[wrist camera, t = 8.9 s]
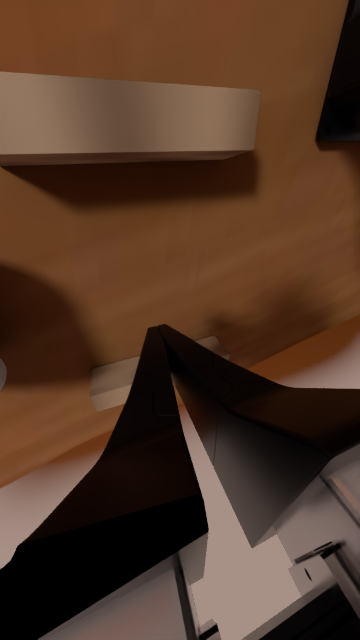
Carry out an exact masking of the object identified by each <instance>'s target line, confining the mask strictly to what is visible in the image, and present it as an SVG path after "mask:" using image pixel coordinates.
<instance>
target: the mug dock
mask: <svg viewBox="0 0 360 640" xmlns="http://www.w3.org/2000/svg"><path fill="white" fill-rule="evenodd" d="M260 93H261V90H252V89H238V88H224V87H210V86H196V85H181V84H167V83H153V82H139V81H125V80H110V79H96V78H82V77H68V76H54V75H39V74H25V73H11V72H0V166H23V165H57V164H90V163H124V162H158V161H192V160H224V159H227V158H230V157H233V156H236V155H240V154H243V153H246V152H249V151H252V150H254V144H255V135H256V127H257V118H258V110H259V101H260ZM195 342H197V343H199V344H201V345H202V346H204V347H206V348H207V349H209V350H211V351H213V352H214V353H215V354H218V355H220V356H221V357H223V358H225V359H227V360H229V357H230V354H229V353H228V352H227V351H226V349H225V348H224V347H223V346H222V344H221V343H220V342H219V341H218V339H217V338H216V337H215V336H211V337H207V338H203V339H200V340H196V341H195ZM139 358H140V356H137V357H133V358H130V359H126V360H122V361H118V362H115V363H111V364H107V365H104V366H100V367H96V368H93V369H92V370H91V385H90V399H91V401H92V402H93V404H94V406H95V408H96V410H97V412H99V411H102V410H105V409H108V408H111V407H114V406H118V405H121V404H124V403H125V402H126V400H127V398H128V395H129V392H130V389H131V386H132V382H133V379H134V376H135V372H136V369H137V365H138V362H139ZM172 382H173V380H172ZM173 386H174V387H176V386H175V384H174V382H173Z"/></svg>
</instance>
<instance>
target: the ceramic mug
mask: <svg viewBox="0 0 360 640" xmlns="http://www.w3.org/2000/svg"><path fill="white" fill-rule="evenodd" d="M6 374H7V370H6V366H5V364H4V362H3V361H2V360H1V358H0V391H1V389H2V388H3V386H4V383H5V380H6Z"/></svg>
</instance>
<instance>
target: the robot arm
mask: <svg viewBox="0 0 360 640" xmlns="http://www.w3.org/2000/svg"><path fill="white" fill-rule="evenodd" d="M325 130H326V133H325ZM317 140H318V141H319V142H360V0H349V4H348V8H347V12H346V16H345V20H344V24H343V28H342V32H341V36H340V41H339V45H338V49H337V53H336V57H335V61H334V65H333V69H332V73H331V77H330V81H329V85H328V89H327V93H326V97H325V101H324V106H323V110H322V114H321V118H320V122H319V126H318V130H317ZM172 380H173V382H174V384H175V386H176V388H177V390H178V392H179V395H180V397H181V399H182V401H183V403H184V405H185V407H186V409H187V412H188V414H189V416H190V418H191V420H192V422H193V424H194V426H195V429H196V431H197V433H198V435H199V437H200V439H201V441H202V443H203V446H204V448H205V450H206V452H207V454H208V456H209V458H210V461H211V463H212V465H213V466H214V469H215V471H216V473H217V475H218V478H219V480H220V482H221V484H222V486H223V488H224V490H225V493H226V495H227V497H228V499H229V501H230V503H231V505H232V508H233V510H234V512H235V514H236V516H237V518H238V520H239V522H240V525H241V526H242V529H243V530H244V533H245V535H246V537H247V539H248V541H249V544H250V545H251V547H252V548H254V547H255V546H257V545H259V544H260V543H262V542H264V541H266V540H267V539H269V538H270V537H272V536H274V535H276V534H277V535H278V537H279V539H280V541H281V543H282V545H283V547H284V549H285V551H286V553H287V555H288V557H289V558H290V560H291V562H292V564H293V566H292V567H290V568H289V571H290V574H291V576H292V578H293V580H294V582H295V584H296V586H297V588H298V590H299V592H300V594H301V596H302V597H301V598H299V599H298V600H296V601H295V602H294V603H292V604H291V605H289V606H288V607H287V608H285V609H284V610H282V611H281V612H280V613H278V614H277V615H275V616H274V617H273V618H271V619H270V620H268V621H267V622H266V623H264V624H263V625H261V626H260V627H259V628H257V629H256V630H254V631H253V632H252V633H250V634H249V635H247V636H246V637H244V638H243V639H242V640H360V389H329V388H327V389H326V388H293V387H287V386H283V385H280V384H278V383H275V382H273V381H271V380H268V379H266V378H264V377H262V376H260V375H258V374H255V373H253V372H251V371H249V370H247V369H244V368H242V367H240V366H238V365H236V364H234V363H232V362H230V361H229V360H227V359H225V358H223V357H221V356H220V355H218V354H215V353H214V352H213V351H211V350H209V349H207V348H206V347H204V346H202V345H201V344H199V343H197V342H195V341H194V340H192V339H190V338H189V337H187V336H185V335H183V334H182V333H180V332H178V331H177V330H175V329H173V328H171V327H170V326H168V325H166V324H162V325H158V326H157V327H156V326H154V327H150V328H148V330H147V333H146V337H145V340H144V344H143V347H142V351H141V355H140V358H139V362H138V365H137V369H136V372H135V376H134V379H133V382H132V386H131V389H130V392H129V395H128V398H127V400H126V402H125V405H124V407H123V410H122V412H121V414H120V416H119V419H118V421H117V423H116V425H115V428H114V430H113V432H112V435H111V437H110V439H109V441H108V443H107V446H106V448H105V450H104V452H103V453H102V455H101V457H100V458H99V460H98V461H97V463H96V464H95V465H94V466H93V468H92V469H91V470H90V471H89V472H88V473H87V474H86V475H85V476H84V478H83V479H82V480H81V481H80V482H79V483H78V484H77V485H76V486H75V488H74V489H73V490H72V491H71V492H70V493H69V494H68V495H67V496H66V497H65V498H64V499H63V501H62V502H61V503H60V504H59V505H58V506H57V507H56V508H55V509H54V510H53V512H52V513H51V514H50V515H49V516H48V517H47V518H46V519H45V520H44V522H43V523H42V524H41V525H40V526H39V527H38V528H37V529H36V530H35V531H34V532H33V533H32V534H31V535H30V536H29V537H28V538H27V539H25V540H24V541H23V542H22V543H21V544H19V545H18V546H17V548H16V551H15V553H14V555H13V557H12V559H11V560H10V562H8V563H7V564H6V565H5V566H4V567H3V568H2V569H0V640H221V637H220V634H219V630H218V626H217V623H216V622H214V621H213V620H212V619H211V620H209V621H208V622H206V623H205V624H204V625H202V626H200V624H199V620H198V615H197V611H196V607H195V602H194V598H193V594H192V589H191V584H193V583H195V582H196V581H198V580H200V579H201V578H203V574H204V566H205V557H206V548H207V539H208V529H209V528H208V522H207V517H206V511H205V505H204V500H203V497H202V494H201V490H200V487H199V483H198V480H197V477H196V473H195V470H194V467H193V463H192V460H191V457H190V453H189V450H188V447H187V443H186V440H185V437H184V433H183V429H182V424H181V420H180V415H179V410H178V406H177V401H176V396H175V391H174V386H173V382H172Z"/></svg>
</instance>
